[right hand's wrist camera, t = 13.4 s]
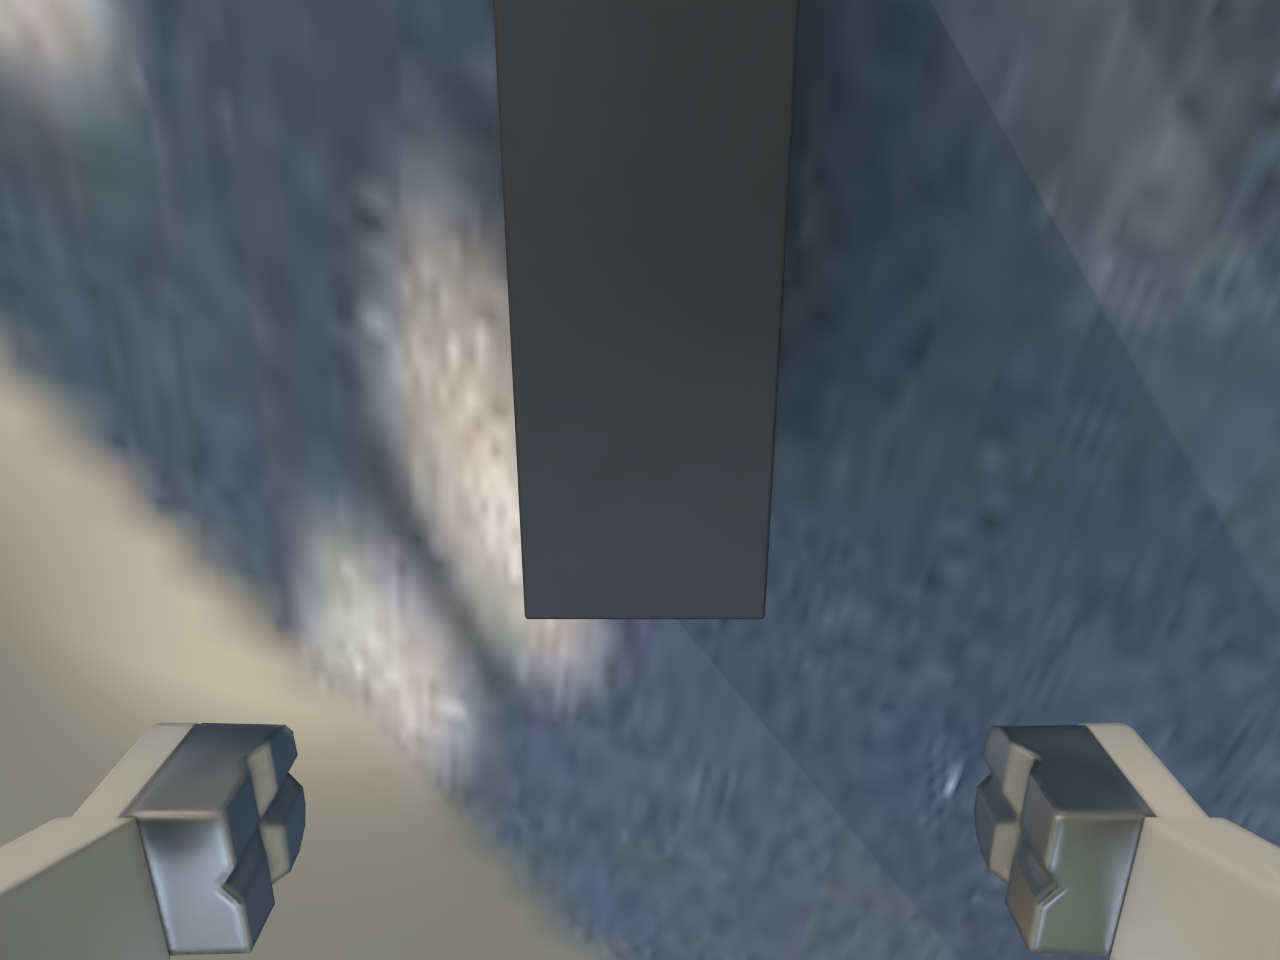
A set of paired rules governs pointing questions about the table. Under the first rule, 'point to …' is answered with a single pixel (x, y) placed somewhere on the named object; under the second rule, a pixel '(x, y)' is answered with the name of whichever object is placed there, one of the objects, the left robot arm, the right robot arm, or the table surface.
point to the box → (645, 296)
